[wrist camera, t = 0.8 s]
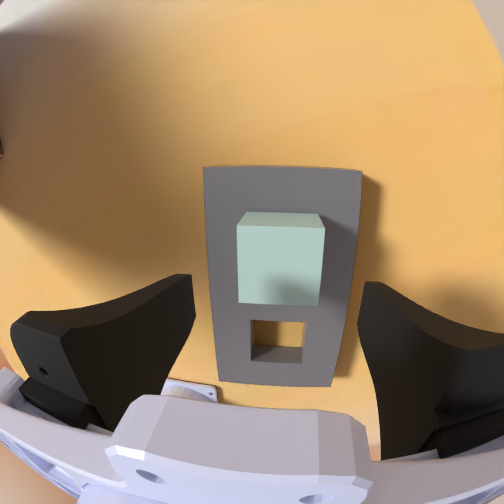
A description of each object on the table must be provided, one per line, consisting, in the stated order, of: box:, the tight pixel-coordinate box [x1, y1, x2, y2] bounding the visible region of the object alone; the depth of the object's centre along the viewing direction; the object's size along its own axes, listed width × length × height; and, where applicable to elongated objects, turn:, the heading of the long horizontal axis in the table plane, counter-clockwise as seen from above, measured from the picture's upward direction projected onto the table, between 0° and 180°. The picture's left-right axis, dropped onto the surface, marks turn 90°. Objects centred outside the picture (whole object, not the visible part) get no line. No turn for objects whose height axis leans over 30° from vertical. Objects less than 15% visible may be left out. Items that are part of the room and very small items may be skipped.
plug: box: [237, 212, 325, 306], centre depth 17 cm, size 4×4×6 cm
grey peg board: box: [203, 165, 362, 387], centre depth 20 cm, size 18×10×2 cm, turn 1°
